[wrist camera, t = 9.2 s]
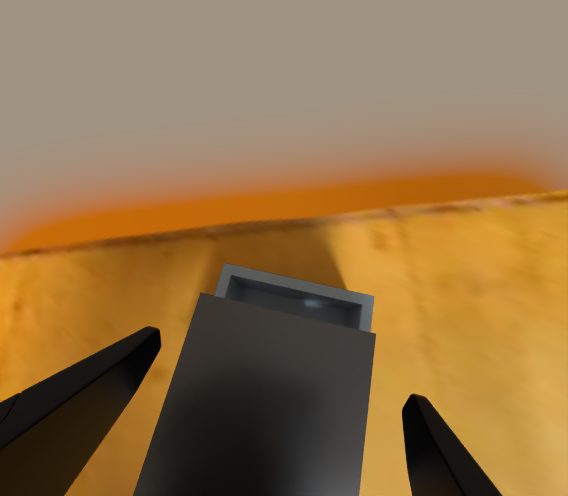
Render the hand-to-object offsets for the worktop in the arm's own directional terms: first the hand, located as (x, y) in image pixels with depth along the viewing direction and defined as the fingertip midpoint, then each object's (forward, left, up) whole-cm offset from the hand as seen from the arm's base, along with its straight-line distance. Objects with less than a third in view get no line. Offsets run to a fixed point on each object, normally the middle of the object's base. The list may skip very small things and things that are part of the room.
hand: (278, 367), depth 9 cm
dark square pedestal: (0, 0, -9) cm, 9 cm away
